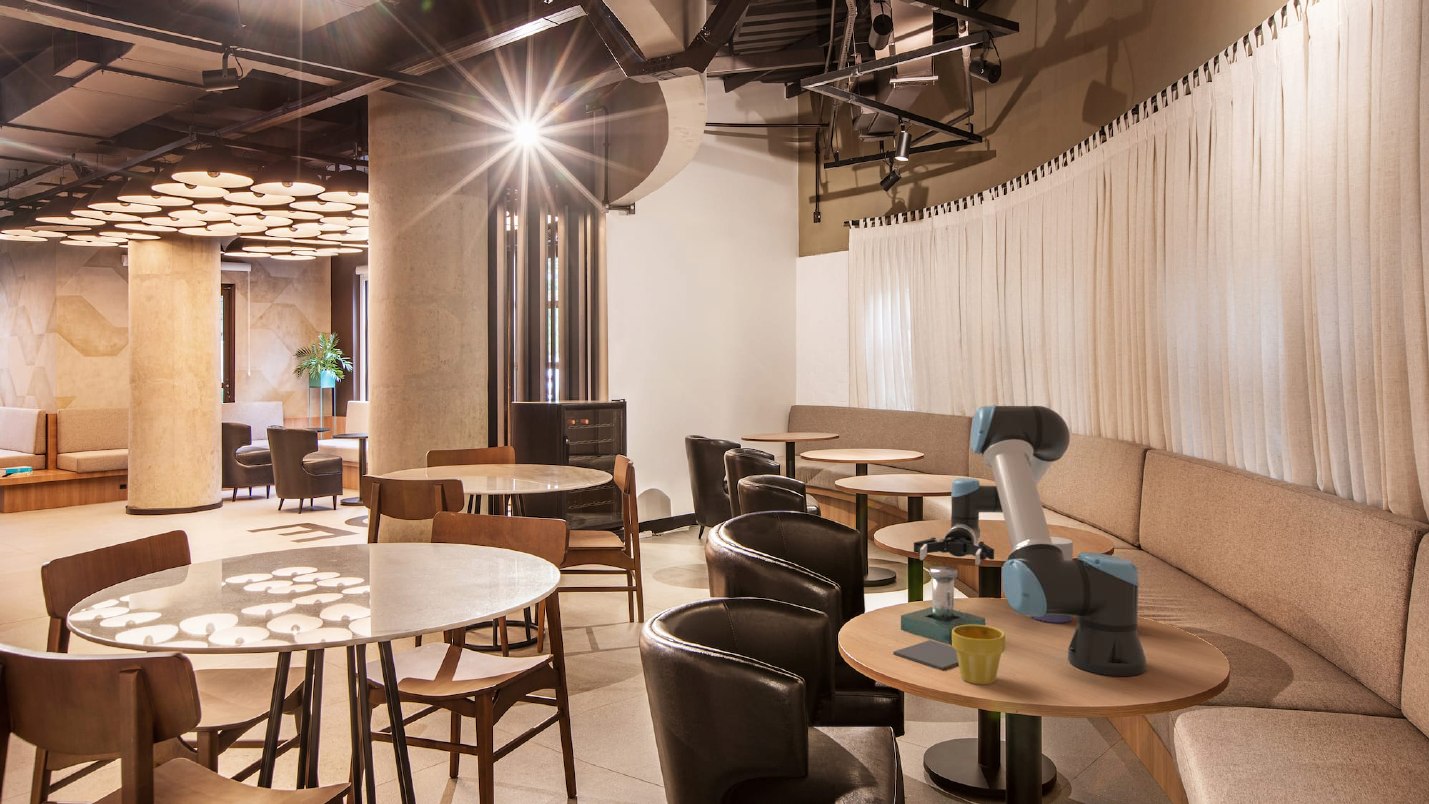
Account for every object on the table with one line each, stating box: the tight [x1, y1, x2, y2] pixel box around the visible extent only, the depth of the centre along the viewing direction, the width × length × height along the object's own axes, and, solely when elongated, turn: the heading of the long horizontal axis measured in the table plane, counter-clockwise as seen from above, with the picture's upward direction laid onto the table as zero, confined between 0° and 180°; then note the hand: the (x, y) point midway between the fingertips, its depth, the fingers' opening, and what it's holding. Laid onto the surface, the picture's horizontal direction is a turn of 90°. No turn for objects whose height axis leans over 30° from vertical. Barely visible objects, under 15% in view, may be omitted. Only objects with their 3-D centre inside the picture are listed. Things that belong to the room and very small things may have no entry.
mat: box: [892, 639, 959, 671], centre depth 187 cm, size 13×13×1 cm
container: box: [1030, 535, 1074, 624], centre depth 216 cm, size 10×10×20 cm
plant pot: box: [951, 625, 1006, 685], centre depth 173 cm, size 10×10×10 cm
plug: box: [929, 565, 958, 622], centre depth 205 cm, size 6×6×15 cm
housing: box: [900, 606, 986, 645], centre depth 205 cm, size 14×14×4 cm
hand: (948, 557), depth 214 cm, fingers open, 13 cm apart
